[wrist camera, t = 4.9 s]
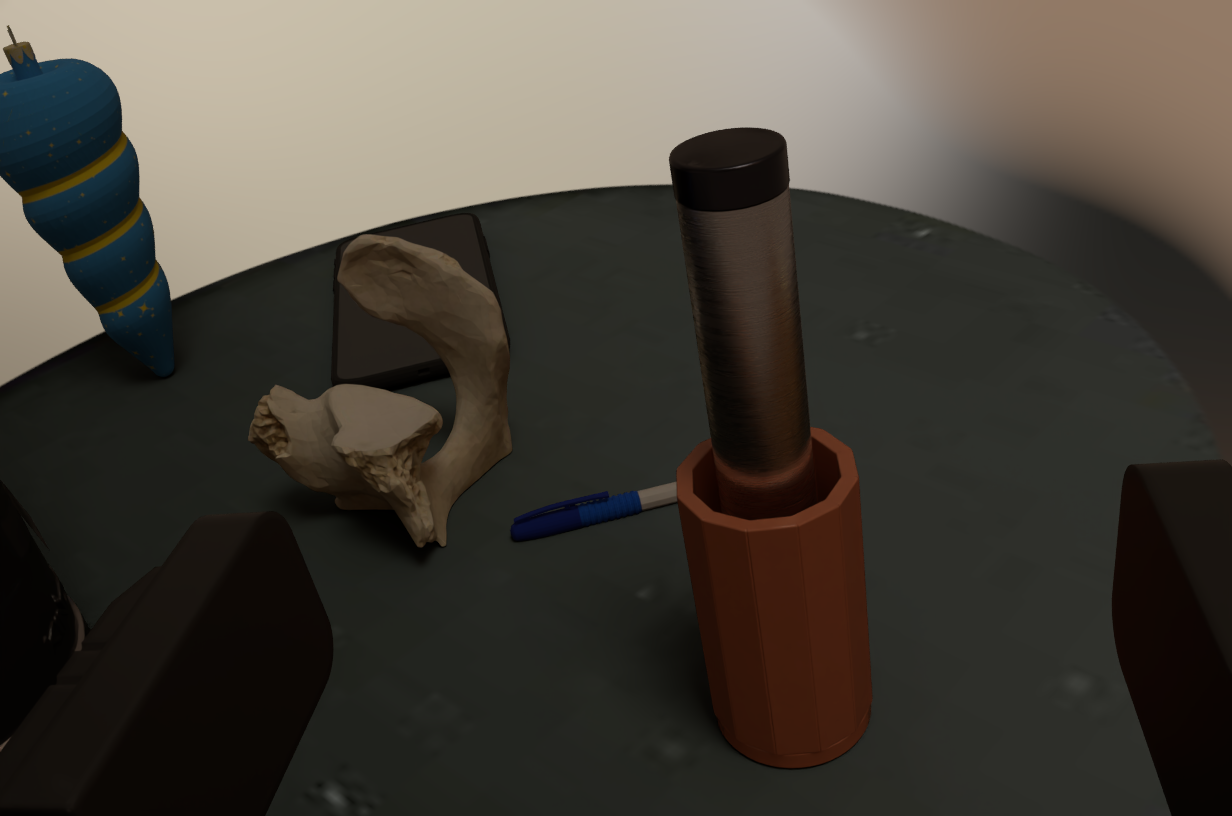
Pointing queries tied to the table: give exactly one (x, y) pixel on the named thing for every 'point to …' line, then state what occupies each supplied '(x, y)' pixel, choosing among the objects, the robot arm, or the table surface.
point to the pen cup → (782, 612)
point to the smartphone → (394, 350)
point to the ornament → (86, 194)
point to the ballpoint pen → (590, 511)
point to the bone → (401, 396)
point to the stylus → (747, 317)
